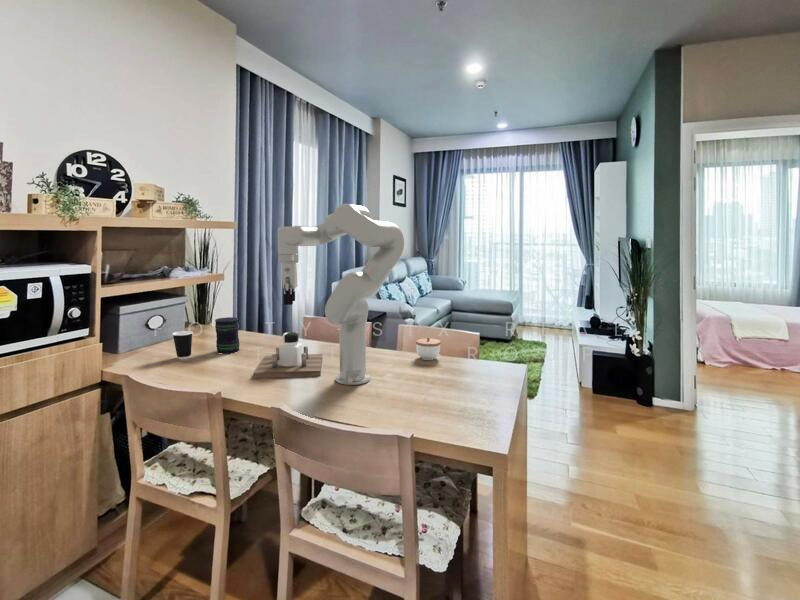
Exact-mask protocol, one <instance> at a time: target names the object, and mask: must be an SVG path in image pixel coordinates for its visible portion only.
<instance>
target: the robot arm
mask: <svg viewBox="0 0 800 600" xmlns="http://www.w3.org/2000/svg"><path fill="white" fill-rule="evenodd" d="M323 222H324V223H322V224H318V225H314V226H310V225H309V226H308V225H293V226H280V227H278V228H277V250H278V251H277V252H278V254H277V255H278V263H279V264H281V282H282V283H281V284H282V288H283V304H284V305H285V306H286V305H287V306H288V305H289V306H291V305H293V303H294V302H296V291H295V289H296V288H297V287H298V270H297V264H299V261H300V260H299V247H317V246H320V245H324V244H328V243H330V242H333V241H335V240H336V239H337V238H340V237H343V236H346V235H348V236H350V237H351V238H352V239H353V240H355V241H357V242H358V243H360V244H361V245H363V246H365V247H368V248H377V250H376V251H375V252H374V253H373V254H372V255H371V256H370V257H369V259H368V261H367V263H365V265H364V267H363V268H362V269H361V270H359V271H353V272H349V273H347V274H345V275H343V277H342V278H341V279H340V280H339V282H338V283H337V285H336V286H335V288H334V290H333V291H332V293H331V294H330V296H329V298H328V299H327V302H326V303H325V306H324V316H325V318H326V320H327V321H328V322H329V323H330V324H333V325H337V326H338V325H340V327H339V373H338V374H337V375H336V376H335V382H337V383H338V384H341V385H346V386H355V385H356V386H357V385H363V384H366V383H368V382H369V381H370V379H371V375H370V374H369V373H367V368H366V367H367V321H368V316H369V304H368V303H369V302H368V301H367V299H370V298H373V297H374V296H376V295H377V294H378V292H379V290H380V289H381V287H382V286H383V285H384V283H385V281H386V280H387V278H388V277H389V276H390V274H391V272H392V271H393V269H394V268H395V266H396V265H397V264H398V262H399V260H400V259H401V257H402V254H403V253H404V248H405V237H404V234H403V231H402V230H401V228H400V227H399V226H398V225H397V224H395V223H393V222H389V221H384V220H374V219H372V214H371V212H370V210H368V208H367V207H366V206H362V205H358V204H352V203H342V204H340V205H338V207H336V208H335V210H334V211H333V213H331V214H328V215H326V217H324V220H323Z"/></svg>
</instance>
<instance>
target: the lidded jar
mask: <svg viewBox="0 0 800 600" xmlns="http://www.w3.org/2000/svg"><path fill="white" fill-rule="evenodd" d="M441 343H442V342H441V340H440V339H437V338H436V339H435V338H430V337H429V336H427V338H419V339H417V340H415V347H416V352H417V353H416V354H417V355H418V357H420V359H421V360H425V361H433V359H434V360H436V358H437V357H438V356H439V354H440V351H441Z"/></svg>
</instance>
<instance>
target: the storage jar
mask: <svg viewBox="0 0 800 600" xmlns="http://www.w3.org/2000/svg"><path fill="white" fill-rule="evenodd" d="M214 320H215V321H214V322H215V323H214V324H215V326H214V328H215V333H216V343H215V345H216V353H217V354H218V353H222V354H221V355H231V353H232V354H235V352H237V353H239V352H240V351H239V350H240V338H239V331H240V329H239V327H240V326H239V318H238V317H233V316H231V317H220V318H216V319H214ZM238 351H239V352H238Z"/></svg>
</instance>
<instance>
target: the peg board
mask: <svg viewBox="0 0 800 600" xmlns="http://www.w3.org/2000/svg"><path fill="white" fill-rule="evenodd" d="M279 347H280V346H277V347H276V348H275V354H274V353H273V354H271V355H264V357H263V358H262V360H261V361H260V363H259V364H258V366H257V368H256V369H255V371H254V373H253V378H254V379H271V378H272V379H273V378H277V379H278V378H296V377H299V378H301V377H321V374H322V366H323V365H322V364H323V353H313V354H312V353H310V354H309V346H307V345H306V346H303V352H302V354H301V362H300V363H298V364H297V365H281V364H280V360H279Z"/></svg>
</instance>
